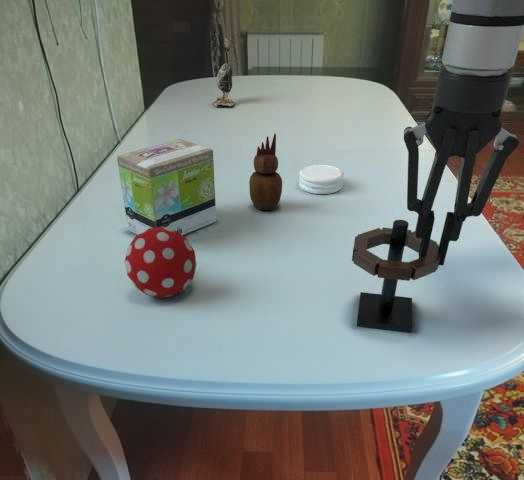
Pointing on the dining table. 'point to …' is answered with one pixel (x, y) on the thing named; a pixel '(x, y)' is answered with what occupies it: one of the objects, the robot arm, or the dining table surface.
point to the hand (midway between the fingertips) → (430, 259)
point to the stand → (388, 294)
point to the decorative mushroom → (160, 262)
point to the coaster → (321, 179)
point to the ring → (390, 267)
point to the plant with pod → (225, 80)
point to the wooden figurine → (266, 178)
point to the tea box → (168, 187)
